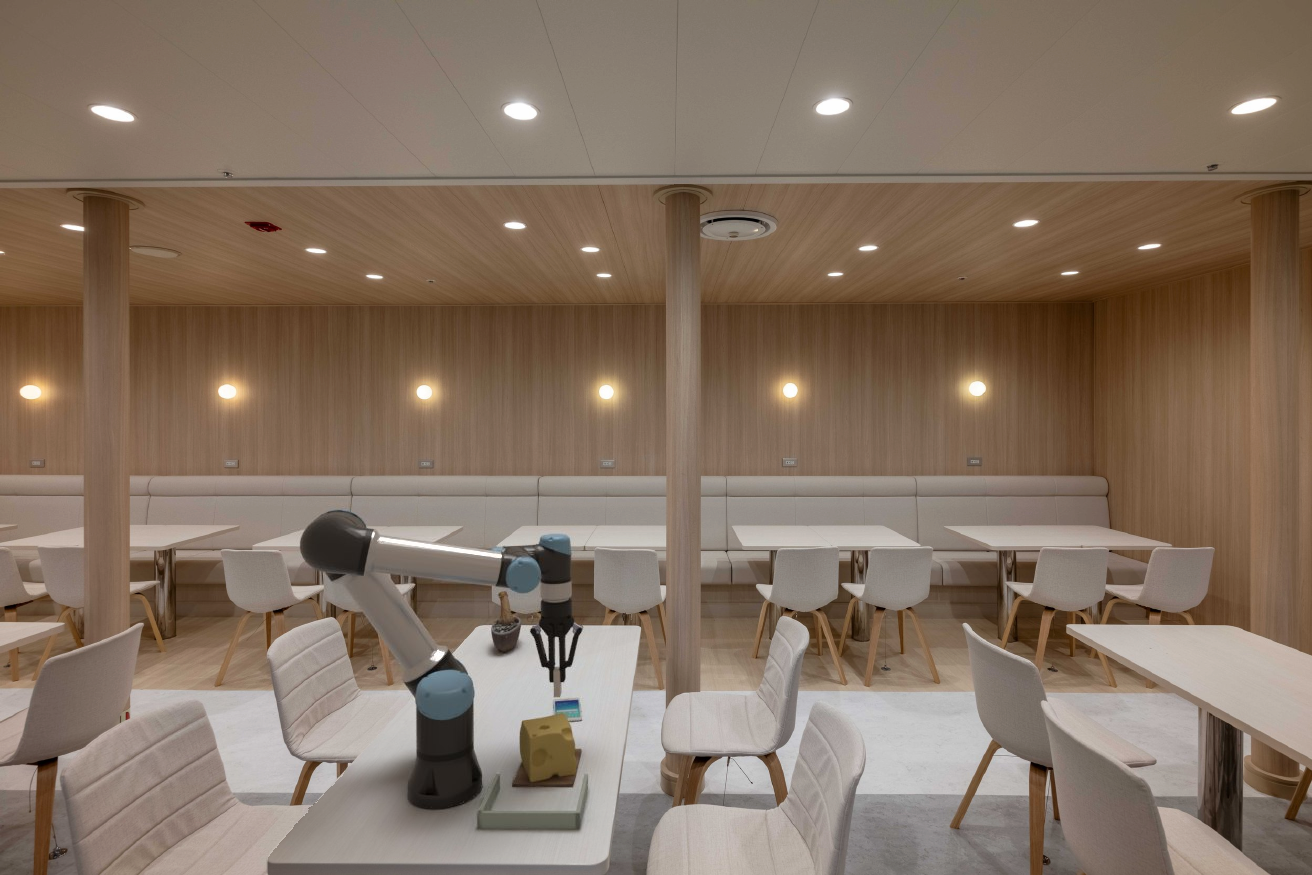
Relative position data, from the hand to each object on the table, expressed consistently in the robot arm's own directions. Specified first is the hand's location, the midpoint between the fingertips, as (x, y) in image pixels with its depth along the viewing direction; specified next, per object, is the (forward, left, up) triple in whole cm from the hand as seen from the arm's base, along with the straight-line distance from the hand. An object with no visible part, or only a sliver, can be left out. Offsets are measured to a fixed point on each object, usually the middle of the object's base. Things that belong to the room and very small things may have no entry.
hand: (557, 694), depth 164 cm
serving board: (-7, -10, -12) cm, 17 cm away
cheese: (-8, -11, -11) cm, 18 cm away
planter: (+18, +76, -12) cm, 79 cm away
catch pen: (-16, -22, -12) cm, 30 cm away
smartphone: (+11, +16, -12) cm, 23 cm away
